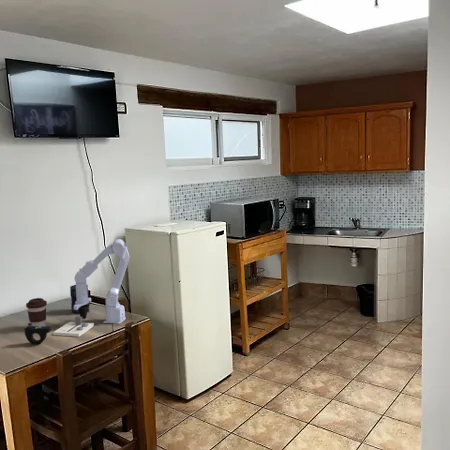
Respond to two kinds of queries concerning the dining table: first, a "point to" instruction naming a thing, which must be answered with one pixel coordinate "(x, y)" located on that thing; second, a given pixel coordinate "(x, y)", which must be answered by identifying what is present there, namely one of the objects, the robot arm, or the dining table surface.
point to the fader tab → (78, 320)
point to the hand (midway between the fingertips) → (83, 318)
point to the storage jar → (74, 298)
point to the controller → (38, 330)
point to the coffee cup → (37, 311)
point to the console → (73, 329)
